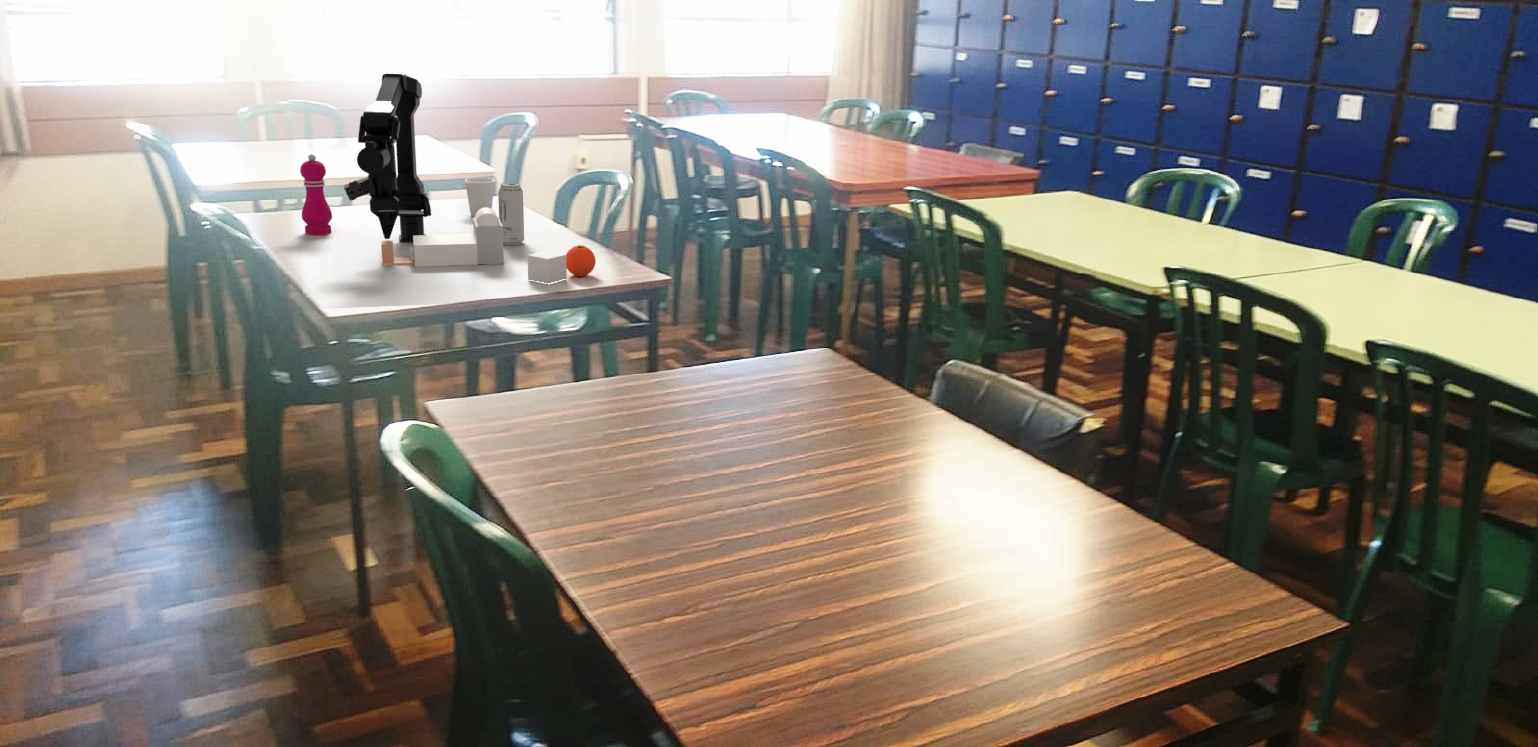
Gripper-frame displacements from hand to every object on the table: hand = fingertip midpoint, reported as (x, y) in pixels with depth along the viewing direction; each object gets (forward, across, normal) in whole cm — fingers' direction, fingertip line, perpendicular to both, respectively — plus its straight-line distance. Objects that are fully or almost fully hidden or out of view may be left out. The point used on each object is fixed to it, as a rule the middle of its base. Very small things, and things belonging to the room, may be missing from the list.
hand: (387, 234), depth 266 cm
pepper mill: (+7, -36, -17) cm, 40 cm away
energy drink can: (+7, -17, +30) cm, 35 cm away
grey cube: (+7, +23, +34) cm, 41 cm away
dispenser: (+6, 0, +16) cm, 17 cm away
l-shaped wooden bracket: (+7, 0, +6) cm, 9 cm away
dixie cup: (+7, -56, +25) cm, 61 cm away
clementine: (+7, +19, +42) cm, 46 cm away
